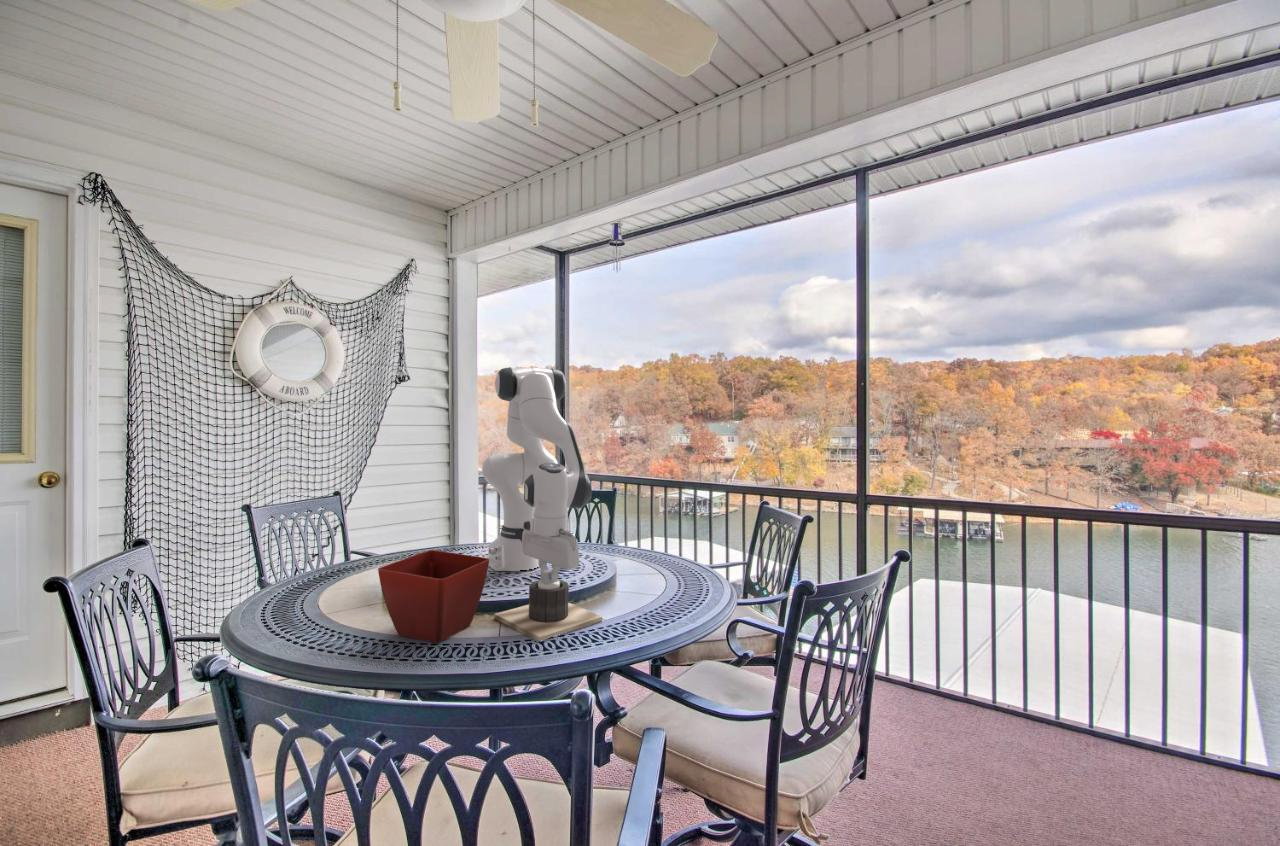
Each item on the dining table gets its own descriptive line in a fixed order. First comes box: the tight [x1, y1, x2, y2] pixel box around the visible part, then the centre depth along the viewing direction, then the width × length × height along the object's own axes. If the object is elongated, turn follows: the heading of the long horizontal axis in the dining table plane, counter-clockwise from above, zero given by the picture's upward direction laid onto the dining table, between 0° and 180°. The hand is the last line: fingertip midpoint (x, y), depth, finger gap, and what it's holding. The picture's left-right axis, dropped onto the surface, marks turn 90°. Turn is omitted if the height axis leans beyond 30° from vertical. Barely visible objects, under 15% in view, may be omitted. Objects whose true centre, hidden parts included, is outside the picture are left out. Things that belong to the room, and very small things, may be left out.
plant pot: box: [377, 549, 489, 644], centre depth 144 cm, size 19×19×17 cm
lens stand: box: [493, 579, 603, 642], centre depth 153 cm, size 20×20×9 cm
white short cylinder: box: [538, 568, 560, 590], centre depth 153 cm, size 6×6×5 cm
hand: (549, 578), depth 153 cm, fingers closed on white short cylinder
